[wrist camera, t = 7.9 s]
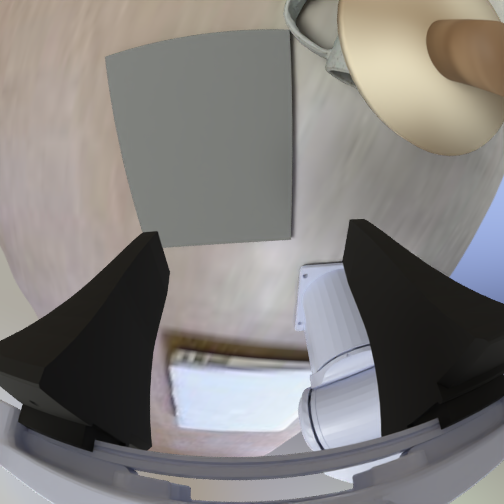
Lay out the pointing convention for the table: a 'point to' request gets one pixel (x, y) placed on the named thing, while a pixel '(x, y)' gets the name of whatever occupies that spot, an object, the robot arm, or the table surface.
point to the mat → (207, 135)
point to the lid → (428, 68)
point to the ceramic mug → (333, 56)
